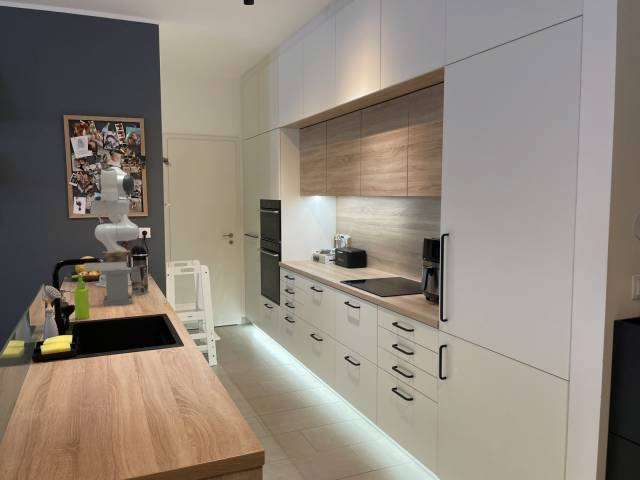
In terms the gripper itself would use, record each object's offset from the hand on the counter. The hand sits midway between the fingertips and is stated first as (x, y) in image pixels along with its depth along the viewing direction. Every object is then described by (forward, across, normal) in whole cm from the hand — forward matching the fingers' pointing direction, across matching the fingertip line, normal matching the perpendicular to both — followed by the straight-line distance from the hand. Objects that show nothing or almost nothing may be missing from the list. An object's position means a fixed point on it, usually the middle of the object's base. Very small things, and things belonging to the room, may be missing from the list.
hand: (110, 222), depth 278 cm
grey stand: (+41, -3, +24) cm, 48 cm away
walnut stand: (+41, -3, +13) cm, 43 cm away
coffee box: (+41, -14, 0) cm, 44 cm away
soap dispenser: (+41, +12, +52) cm, 67 cm away
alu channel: (+23, +2, +24) cm, 33 cm away
